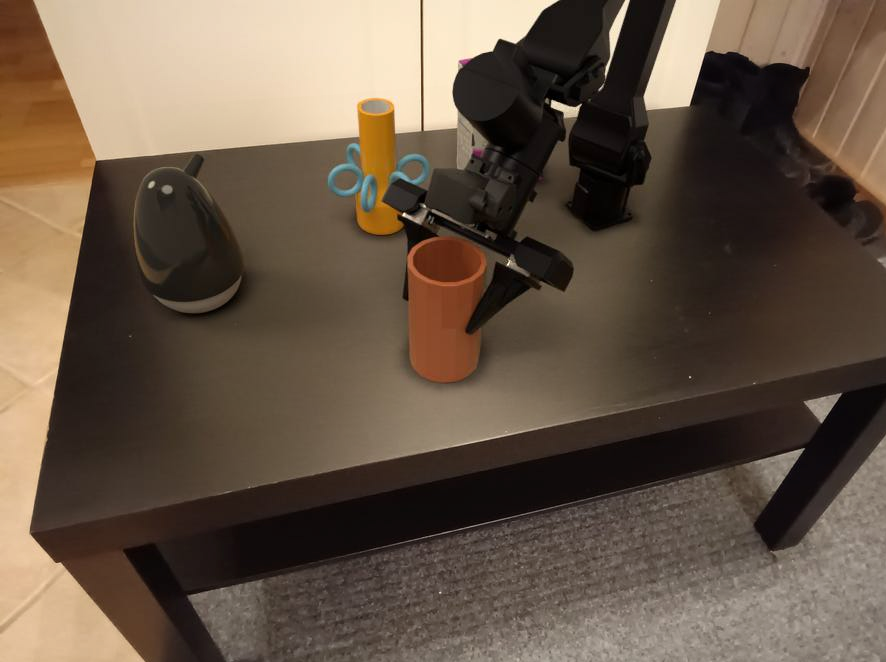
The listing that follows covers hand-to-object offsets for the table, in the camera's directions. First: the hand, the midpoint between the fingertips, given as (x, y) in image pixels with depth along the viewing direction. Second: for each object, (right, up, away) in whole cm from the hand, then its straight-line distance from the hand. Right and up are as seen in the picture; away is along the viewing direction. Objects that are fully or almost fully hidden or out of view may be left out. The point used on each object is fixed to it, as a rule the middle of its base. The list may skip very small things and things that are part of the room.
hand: (436, 316), depth 66 cm
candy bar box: (+7, +20, +29) cm, 36 cm away
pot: (0, -4, +6) cm, 7 cm away
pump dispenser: (-26, +3, +10) cm, 28 cm away
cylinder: (-8, +13, +21) cm, 26 cm away
